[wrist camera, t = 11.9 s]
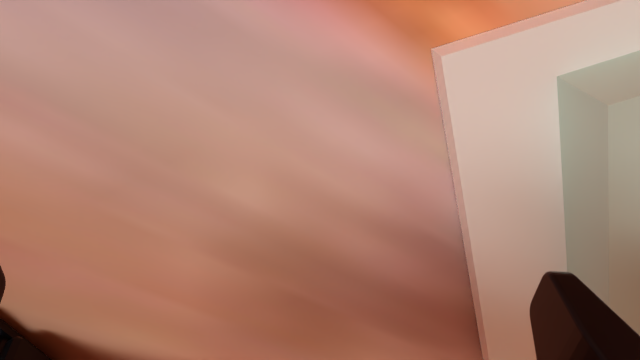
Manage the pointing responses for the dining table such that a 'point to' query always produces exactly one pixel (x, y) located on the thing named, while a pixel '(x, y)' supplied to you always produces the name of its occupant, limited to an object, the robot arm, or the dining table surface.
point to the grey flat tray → (546, 161)
